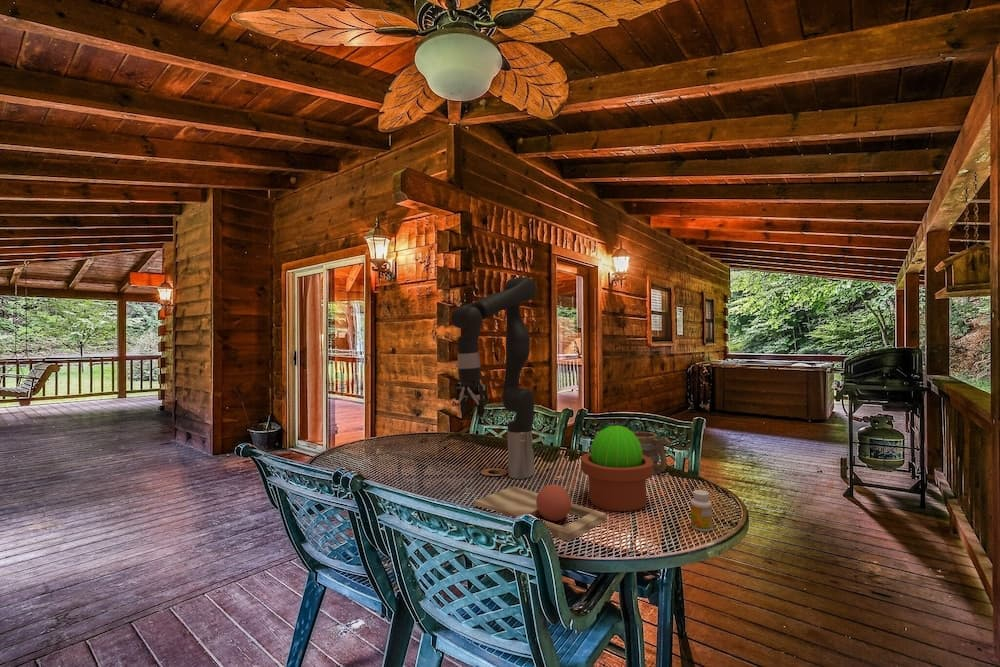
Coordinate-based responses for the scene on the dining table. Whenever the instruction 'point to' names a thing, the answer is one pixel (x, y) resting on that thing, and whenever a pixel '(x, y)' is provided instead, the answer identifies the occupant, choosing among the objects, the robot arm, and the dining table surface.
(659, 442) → the tankard
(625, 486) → the potted cactus
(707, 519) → the supplement bottle
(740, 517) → the dining table surface
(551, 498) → the ball
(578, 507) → the board
